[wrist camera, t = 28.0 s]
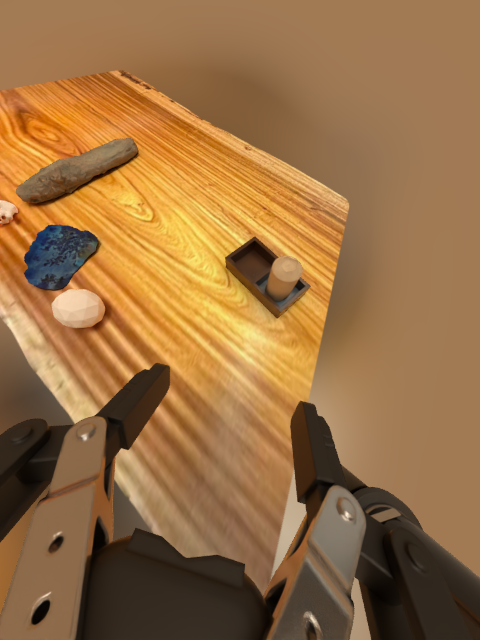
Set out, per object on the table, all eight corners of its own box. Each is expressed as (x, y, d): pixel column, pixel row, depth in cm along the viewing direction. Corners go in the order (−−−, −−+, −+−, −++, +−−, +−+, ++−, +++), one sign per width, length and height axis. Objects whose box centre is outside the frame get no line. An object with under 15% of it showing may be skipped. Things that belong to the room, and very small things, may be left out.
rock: (106, 240, 44) (100, 234, 43) (59, 297, 40) (50, 293, 38) (60, 223, 46) (53, 216, 45) (11, 274, 42) (0, 269, 40)
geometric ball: (104, 310, 42) (96, 279, 37) (111, 331, 37) (103, 298, 33) (60, 318, 37) (44, 283, 32) (62, 342, 33) (44, 305, 28)
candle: (261, 284, 40) (268, 255, 31) (282, 277, 41) (296, 246, 32) (271, 305, 39) (282, 281, 29) (293, 297, 40) (311, 271, 30)
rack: (304, 293, 41) (310, 286, 37) (277, 318, 39) (280, 312, 35) (253, 247, 45) (254, 236, 41) (226, 267, 43) (225, 257, 39)
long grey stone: (149, 162, 56) (132, 149, 59) (140, 140, 51) (123, 127, 54) (33, 213, 46) (20, 195, 49) (10, 192, 42) (-4, 173, 44)
